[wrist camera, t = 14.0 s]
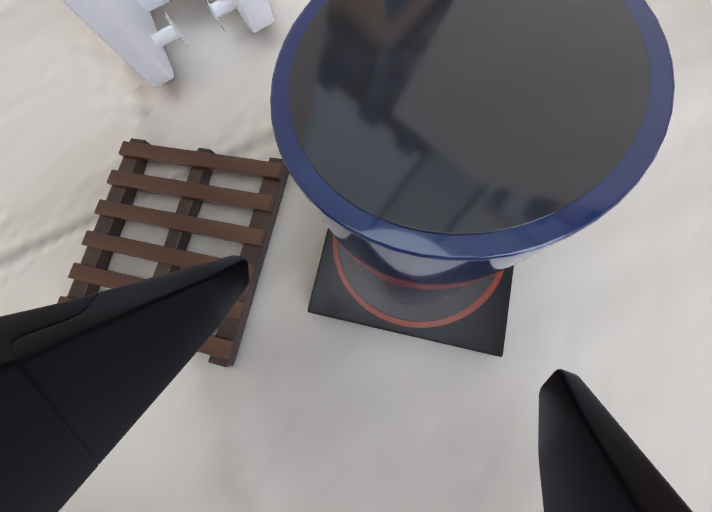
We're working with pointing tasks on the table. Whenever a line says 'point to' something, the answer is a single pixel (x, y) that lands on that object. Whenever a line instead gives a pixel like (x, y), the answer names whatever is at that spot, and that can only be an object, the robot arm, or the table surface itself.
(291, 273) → the table surface
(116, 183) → the rack
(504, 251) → the blue mug
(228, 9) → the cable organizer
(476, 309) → the hot plate
